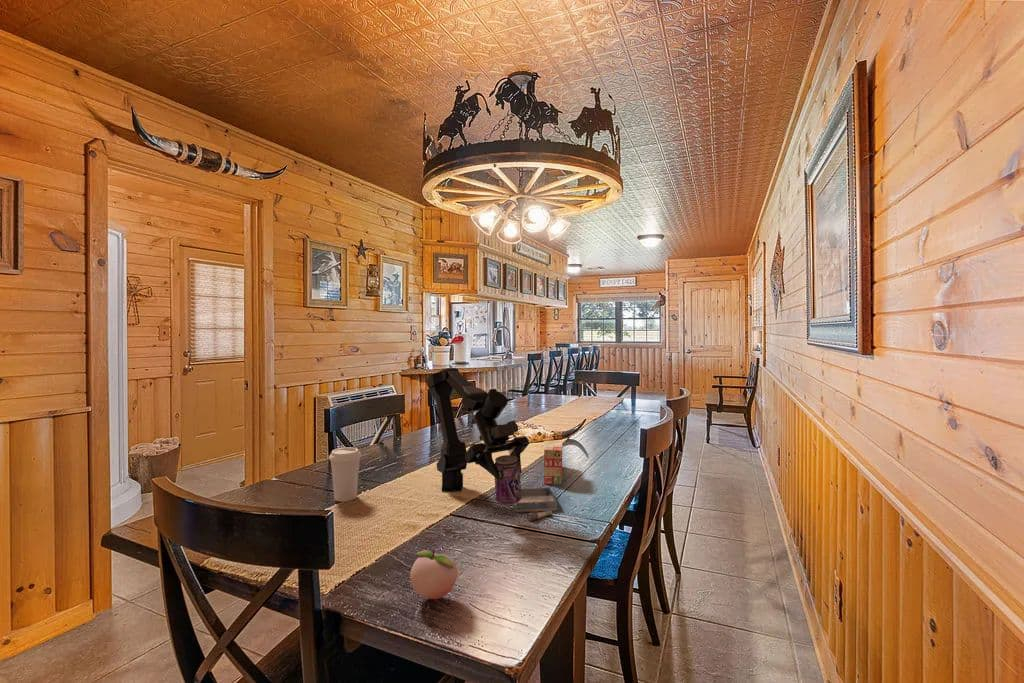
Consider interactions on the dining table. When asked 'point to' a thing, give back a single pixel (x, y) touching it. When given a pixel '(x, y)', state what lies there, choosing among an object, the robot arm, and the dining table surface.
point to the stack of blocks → (553, 462)
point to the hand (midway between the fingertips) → (509, 475)
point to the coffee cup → (345, 473)
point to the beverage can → (508, 480)
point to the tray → (536, 500)
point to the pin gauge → (538, 515)
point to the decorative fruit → (433, 575)
